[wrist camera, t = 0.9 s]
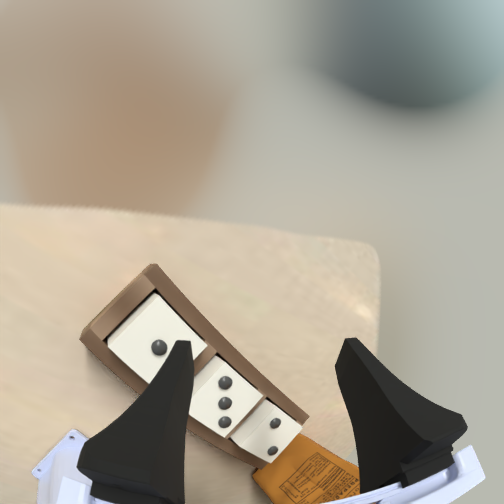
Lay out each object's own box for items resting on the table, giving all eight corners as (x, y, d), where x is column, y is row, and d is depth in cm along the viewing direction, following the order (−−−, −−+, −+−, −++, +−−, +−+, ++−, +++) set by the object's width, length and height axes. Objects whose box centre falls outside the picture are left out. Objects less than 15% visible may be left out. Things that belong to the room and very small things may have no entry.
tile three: (210, 421, 21) (225, 438, 19) (170, 392, 20) (181, 409, 17) (246, 383, 23) (264, 396, 21) (210, 351, 22) (226, 362, 19)
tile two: (255, 449, 23) (272, 464, 21) (224, 431, 22) (240, 447, 19) (285, 416, 25) (304, 428, 23) (258, 394, 24) (277, 407, 21)
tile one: (153, 378, 19) (161, 394, 17) (107, 335, 18) (107, 347, 15) (194, 336, 21) (208, 346, 19) (151, 291, 20) (159, 295, 17)
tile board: (247, 456, 24) (261, 469, 22) (82, 330, 18) (79, 339, 16) (292, 406, 28) (309, 416, 25) (150, 263, 21) (156, 263, 19)
